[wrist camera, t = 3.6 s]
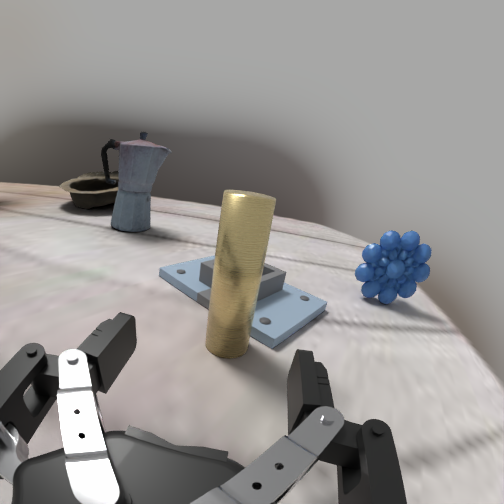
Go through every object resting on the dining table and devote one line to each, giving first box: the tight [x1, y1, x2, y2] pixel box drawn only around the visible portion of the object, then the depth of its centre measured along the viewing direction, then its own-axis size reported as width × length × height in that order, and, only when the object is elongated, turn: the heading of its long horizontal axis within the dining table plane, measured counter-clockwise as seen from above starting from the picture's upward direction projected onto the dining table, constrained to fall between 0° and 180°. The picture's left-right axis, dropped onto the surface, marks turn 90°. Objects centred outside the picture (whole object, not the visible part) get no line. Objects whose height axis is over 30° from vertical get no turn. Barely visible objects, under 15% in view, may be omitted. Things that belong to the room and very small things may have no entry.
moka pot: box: [101, 132, 171, 232], centre depth 52 cm, size 10×15×20 cm, turn 102°
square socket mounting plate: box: [159, 256, 327, 348], centre depth 35 cm, size 19×12×4 cm, turn 51°
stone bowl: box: [59, 171, 119, 209], centre depth 69 cm, size 25×25×9 cm
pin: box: [206, 190, 276, 358], centre depth 23 cm, size 4×4×14 cm
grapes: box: [355, 231, 431, 304], centre depth 39 cm, size 12×7×12 cm, turn 70°
